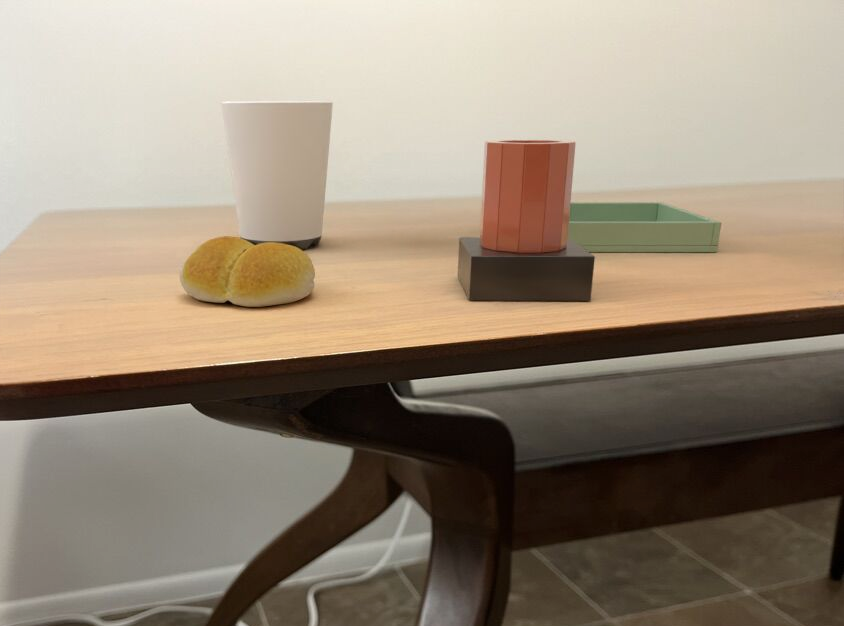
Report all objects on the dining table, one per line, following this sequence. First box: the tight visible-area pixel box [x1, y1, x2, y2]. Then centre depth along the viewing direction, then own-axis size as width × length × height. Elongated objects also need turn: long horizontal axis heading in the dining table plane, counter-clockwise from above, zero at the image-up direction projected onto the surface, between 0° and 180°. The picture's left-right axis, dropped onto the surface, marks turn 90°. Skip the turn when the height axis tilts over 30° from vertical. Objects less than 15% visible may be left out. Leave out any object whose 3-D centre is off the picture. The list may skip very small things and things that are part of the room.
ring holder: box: [457, 236, 596, 302], centre depth 56 cm, size 8×8×8 cm
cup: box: [221, 100, 334, 251], centre depth 74 cm, size 10×10×13 cm
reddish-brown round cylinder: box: [479, 139, 577, 253], centre depth 56 cm, size 6×6×7 cm
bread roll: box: [179, 235, 316, 308], centre depth 56 cm, size 8×9×4 cm
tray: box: [568, 201, 722, 253], centre depth 78 cm, size 17×15×3 cm
